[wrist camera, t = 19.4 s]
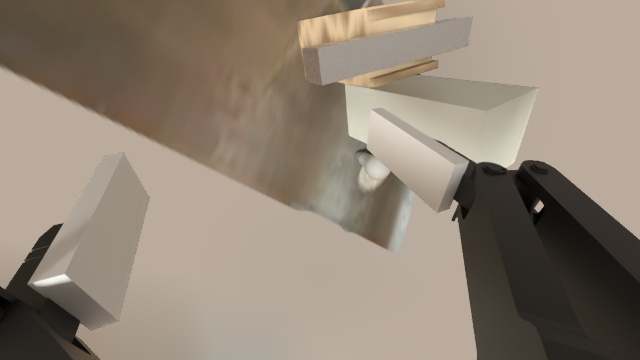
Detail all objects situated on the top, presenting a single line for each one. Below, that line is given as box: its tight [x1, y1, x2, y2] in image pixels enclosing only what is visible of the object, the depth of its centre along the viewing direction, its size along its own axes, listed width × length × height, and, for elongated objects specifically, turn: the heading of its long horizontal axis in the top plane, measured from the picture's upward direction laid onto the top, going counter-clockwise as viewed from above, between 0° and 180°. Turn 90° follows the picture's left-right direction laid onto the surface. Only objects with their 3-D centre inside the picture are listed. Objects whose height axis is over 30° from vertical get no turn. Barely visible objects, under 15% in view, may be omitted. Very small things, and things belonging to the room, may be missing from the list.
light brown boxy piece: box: [297, 0, 445, 88], centre depth 40 cm, size 9×12×20 cm
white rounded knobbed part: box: [355, 151, 390, 179], centre depth 59 cm, size 6×6×11 cm
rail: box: [302, 17, 473, 85], centre depth 30 cm, size 4×24×4 cm, turn 99°
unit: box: [345, 75, 539, 168], centre depth 47 cm, size 13×12×30 cm
